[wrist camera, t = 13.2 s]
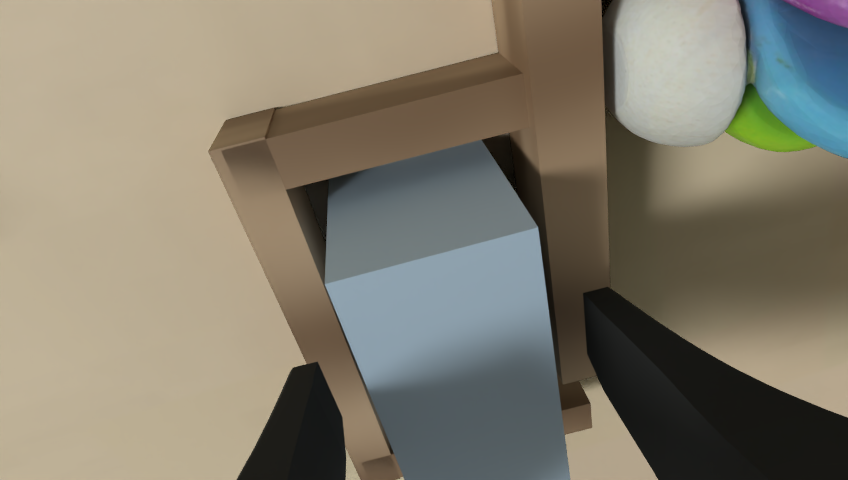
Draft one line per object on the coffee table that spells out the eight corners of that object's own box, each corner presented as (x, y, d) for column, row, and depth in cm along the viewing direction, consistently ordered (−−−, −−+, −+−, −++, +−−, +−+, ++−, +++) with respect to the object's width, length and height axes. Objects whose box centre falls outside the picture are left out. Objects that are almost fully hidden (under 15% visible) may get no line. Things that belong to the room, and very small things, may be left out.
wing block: (516, 351, 18) (570, 482, 14) (402, 381, 18) (422, 522, 14) (477, 132, 14) (538, 227, 10) (329, 172, 14) (324, 284, 10)
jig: (954, 283, 19) (1068, 350, 16) (362, 436, 19) (366, 532, 16) (1422, -869, 8) (2093, -1355, 5) (-43, -502, 8) (-284, -766, 5)
